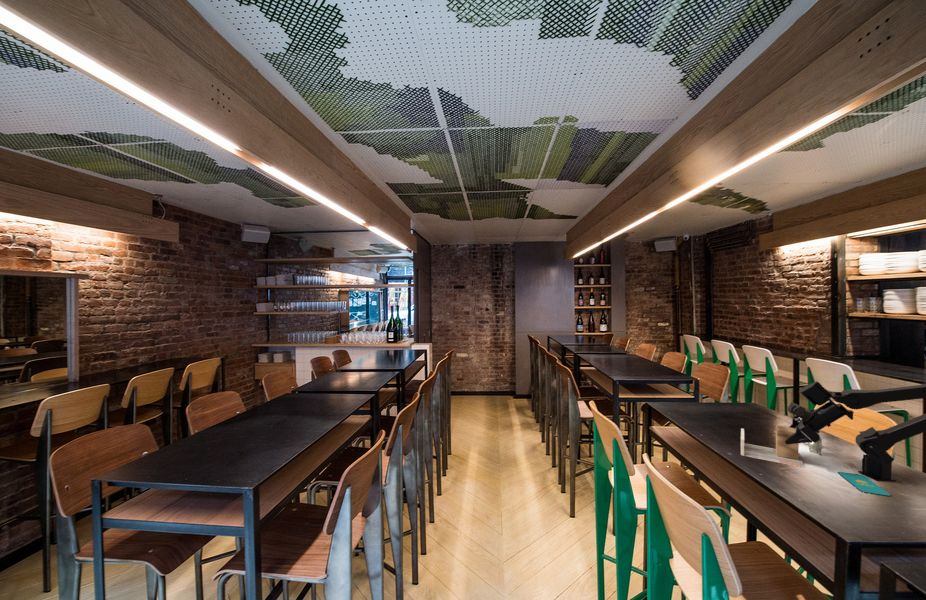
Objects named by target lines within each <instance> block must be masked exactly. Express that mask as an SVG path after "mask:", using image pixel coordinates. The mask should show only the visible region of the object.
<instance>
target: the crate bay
mask: <svg viewBox="0 0 926 600" xmlns="http://www.w3.org/2000/svg"><path fill="white" fill-rule="evenodd" d="M740 456H743V457H749V458H753V459H759V460H763V461H769V462H773V463H779V464H785V465H787V466H788V465H789V466H795V467H799V468H806V466H805V463H804V461H803V458H802V456H801V454H800V452H798V461H797V460H792V459H787V458H782V457H777V456H776V448H772V447H768V446H761V445H756V444H751V443H747V442H745V428H740Z"/></svg>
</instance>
